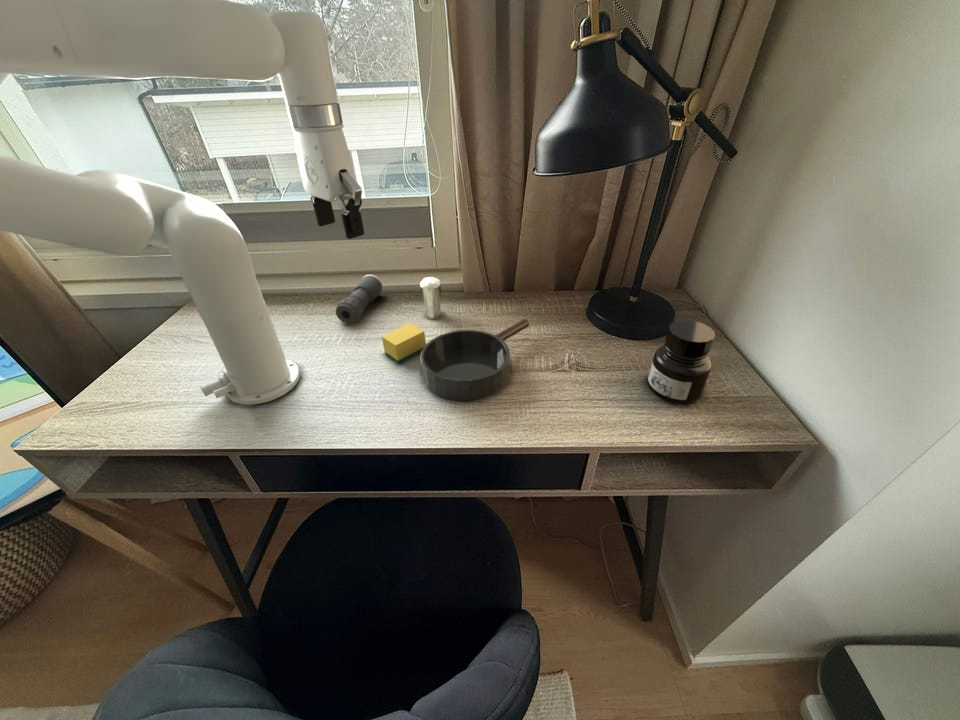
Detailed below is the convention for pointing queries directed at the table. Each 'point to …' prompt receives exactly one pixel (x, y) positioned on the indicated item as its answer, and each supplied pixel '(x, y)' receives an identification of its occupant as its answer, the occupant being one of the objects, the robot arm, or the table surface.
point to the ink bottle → (682, 362)
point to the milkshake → (431, 296)
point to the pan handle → (513, 329)
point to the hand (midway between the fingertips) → (340, 230)
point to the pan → (465, 365)
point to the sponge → (404, 343)
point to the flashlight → (359, 299)
